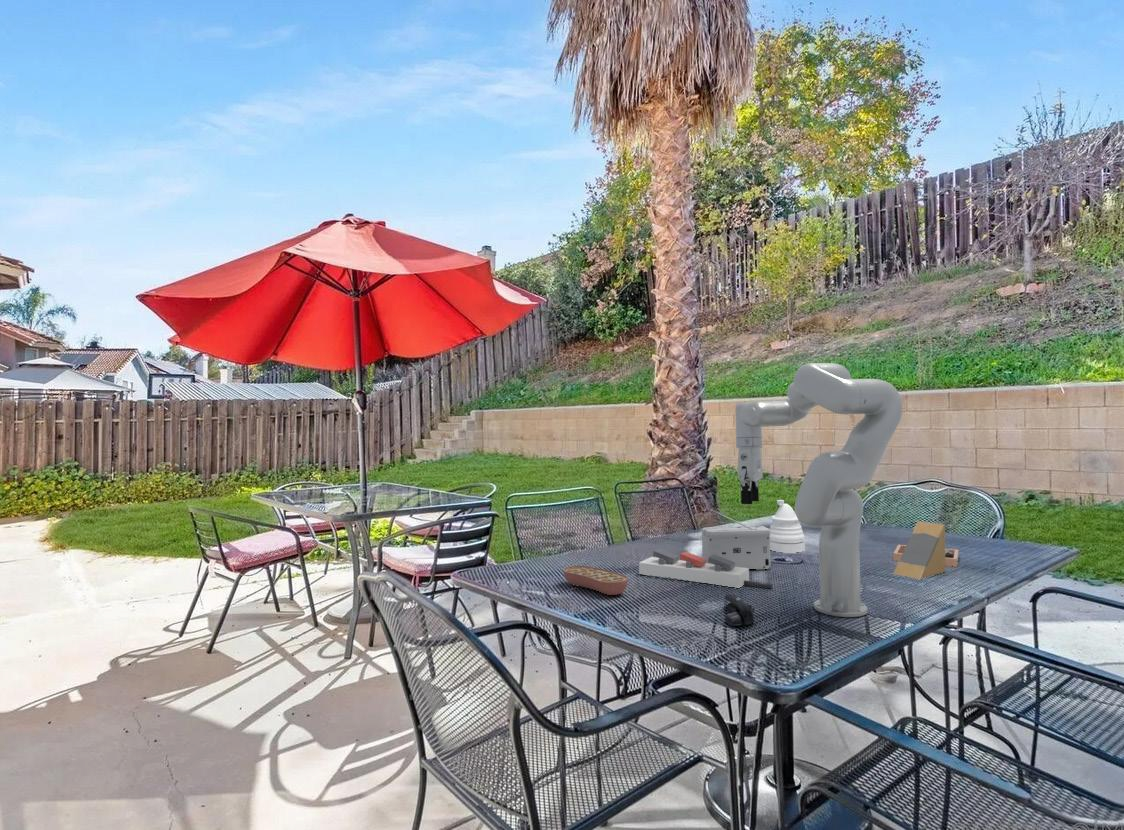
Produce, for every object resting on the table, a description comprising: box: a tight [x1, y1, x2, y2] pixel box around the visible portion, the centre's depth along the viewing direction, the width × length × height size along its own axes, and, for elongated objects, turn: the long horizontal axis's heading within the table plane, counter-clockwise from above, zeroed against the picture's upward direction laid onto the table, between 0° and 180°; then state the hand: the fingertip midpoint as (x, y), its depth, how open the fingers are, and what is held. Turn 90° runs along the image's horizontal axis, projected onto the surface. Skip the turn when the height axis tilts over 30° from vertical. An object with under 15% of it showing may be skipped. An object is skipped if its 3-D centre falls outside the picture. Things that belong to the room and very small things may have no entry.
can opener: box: [724, 593, 756, 626], centre depth 160 cm, size 18×7×6 cm, turn 176°
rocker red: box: [679, 551, 707, 567], centre depth 197 cm, size 4×7×2 cm, turn 57°
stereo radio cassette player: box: [701, 508, 771, 570], centre depth 208 cm, size 21×8×20 cm, turn 92°
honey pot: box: [769, 499, 806, 554], centre depth 233 cm, size 13×13×18 cm
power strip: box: [638, 556, 774, 589], centre depth 195 cm, size 9×40×6 cm, turn 57°
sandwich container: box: [892, 520, 946, 580], centre depth 197 cm, size 9×15×15 cm, turn 123°
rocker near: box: [708, 554, 735, 571], centre depth 192 cm, size 4×7×2 cm, turn 57°
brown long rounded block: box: [563, 565, 628, 596], centre depth 187 cm, size 23×10×5 cm, turn 41°
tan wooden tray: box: [892, 544, 959, 568], centre depth 214 cm, size 15×18×2 cm
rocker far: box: [652, 548, 680, 564], centre depth 202 cm, size 4×7×2 cm, turn 57°
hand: (750, 501), depth 194 cm, fingers open, 5 cm apart
